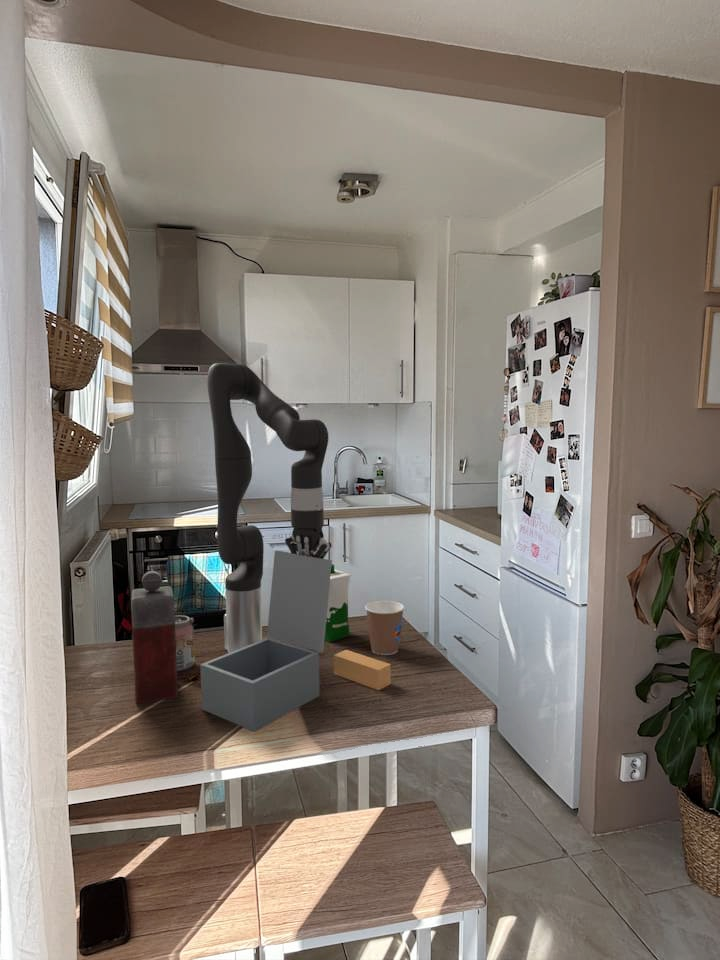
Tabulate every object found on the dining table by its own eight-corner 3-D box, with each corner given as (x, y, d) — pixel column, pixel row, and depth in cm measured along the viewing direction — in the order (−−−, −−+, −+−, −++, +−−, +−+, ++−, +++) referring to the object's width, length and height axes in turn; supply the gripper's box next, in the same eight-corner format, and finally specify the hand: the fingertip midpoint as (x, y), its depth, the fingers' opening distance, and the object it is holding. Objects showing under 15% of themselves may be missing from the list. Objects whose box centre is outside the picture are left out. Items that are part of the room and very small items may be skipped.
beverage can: (159, 660, 166) (157, 615, 165) (193, 656, 169) (191, 611, 168) (161, 674, 158) (159, 626, 156) (197, 669, 161) (195, 622, 159)
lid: (274, 550, 155) (278, 550, 156) (266, 636, 154) (270, 635, 155) (328, 560, 145) (331, 560, 146) (319, 651, 144) (323, 651, 145)
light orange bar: (333, 674, 158) (333, 655, 157) (346, 669, 161) (346, 649, 160) (378, 691, 149) (378, 670, 148) (390, 684, 152) (390, 664, 151)
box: (201, 709, 140) (200, 664, 138) (268, 678, 155) (267, 637, 154) (253, 731, 130) (252, 683, 129) (319, 695, 146) (318, 652, 145)
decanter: (175, 677, 156) (171, 563, 153) (177, 697, 145) (173, 574, 142) (136, 682, 153) (130, 566, 150) (135, 703, 143) (129, 578, 139)
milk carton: (335, 628, 190) (334, 561, 187) (354, 636, 183) (354, 567, 180) (310, 635, 184) (309, 566, 182) (329, 644, 177) (328, 572, 175)
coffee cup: (405, 657, 167) (405, 612, 166) (365, 657, 168) (364, 612, 166) (403, 643, 178) (403, 600, 176) (365, 643, 178) (365, 600, 176)
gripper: (275, 506, 151) (277, 578, 153) (318, 511, 143) (319, 588, 145) (297, 502, 157) (298, 572, 159) (339, 506, 149) (340, 580, 151)
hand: (308, 579), depth 152 cm, fingers closed
